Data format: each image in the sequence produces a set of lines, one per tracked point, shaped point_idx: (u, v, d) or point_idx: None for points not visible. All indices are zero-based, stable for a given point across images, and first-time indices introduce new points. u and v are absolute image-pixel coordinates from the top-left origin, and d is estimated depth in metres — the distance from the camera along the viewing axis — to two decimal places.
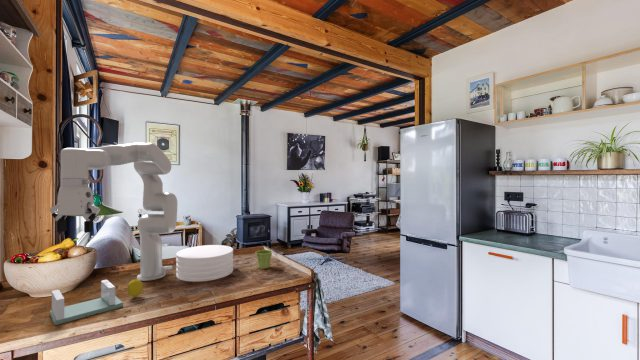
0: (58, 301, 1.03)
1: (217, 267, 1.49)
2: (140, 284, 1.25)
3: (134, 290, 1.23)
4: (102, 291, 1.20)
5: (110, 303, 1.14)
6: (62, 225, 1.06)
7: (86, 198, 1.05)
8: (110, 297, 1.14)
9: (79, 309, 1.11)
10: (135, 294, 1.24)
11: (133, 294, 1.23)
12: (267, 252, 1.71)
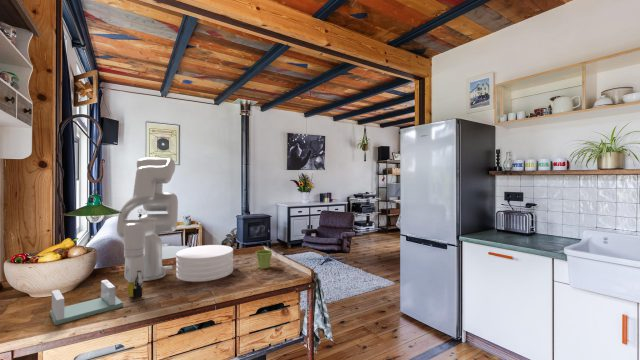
0: (58, 301, 1.03)
1: (217, 267, 1.49)
2: None
3: None
4: (102, 291, 1.20)
5: (110, 303, 1.14)
6: None
7: None
8: (110, 297, 1.14)
9: (79, 309, 1.11)
10: None
11: None
12: (267, 252, 1.71)
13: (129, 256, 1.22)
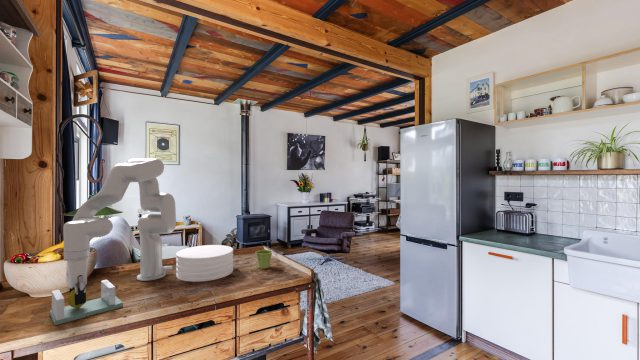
0: (58, 301, 1.03)
1: (217, 267, 1.49)
2: None
3: None
4: (102, 291, 1.20)
5: (110, 303, 1.14)
6: None
7: None
8: (110, 297, 1.14)
9: (79, 309, 1.11)
10: (77, 305, 1.10)
11: (74, 305, 1.09)
12: (267, 252, 1.71)
13: (69, 259, 1.08)
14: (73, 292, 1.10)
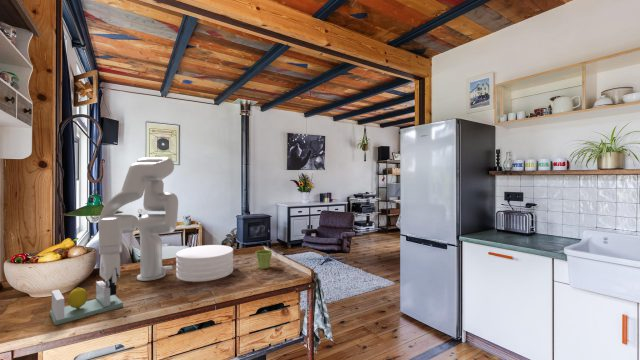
0: (58, 301, 1.03)
1: (217, 267, 1.49)
2: (83, 293, 1.11)
3: (75, 300, 1.09)
4: (97, 292, 1.19)
5: (105, 304, 1.13)
6: None
7: None
8: (105, 298, 1.13)
9: (79, 309, 1.11)
10: (77, 305, 1.10)
11: (75, 305, 1.09)
12: (267, 252, 1.71)
13: (104, 253, 1.15)
14: (73, 292, 1.10)
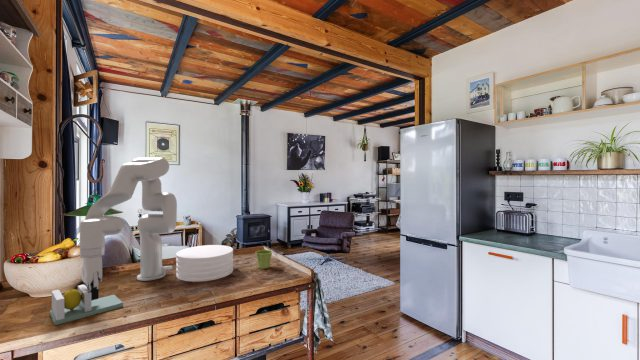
0: (58, 301, 1.03)
1: (217, 267, 1.49)
2: (77, 295, 1.10)
3: (69, 302, 1.08)
4: None
5: (86, 309, 1.09)
6: None
7: None
8: (86, 303, 1.09)
9: (79, 309, 1.11)
10: (71, 306, 1.08)
11: (68, 307, 1.08)
12: (267, 252, 1.71)
13: (85, 256, 1.11)
14: (66, 294, 1.08)
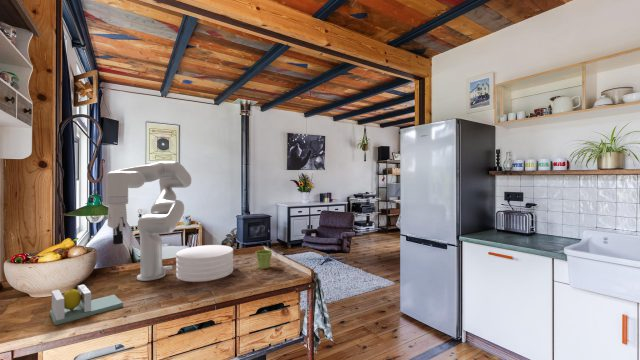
0: (58, 301, 1.03)
1: (217, 267, 1.49)
2: (77, 295, 1.10)
3: (68, 302, 1.08)
4: None
5: (85, 309, 1.09)
6: None
7: None
8: (85, 303, 1.08)
9: (79, 309, 1.11)
10: (70, 306, 1.08)
11: (68, 307, 1.08)
12: (267, 252, 1.71)
13: (111, 203, 1.24)
14: (66, 294, 1.08)
